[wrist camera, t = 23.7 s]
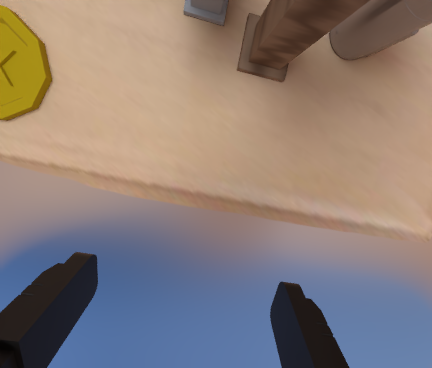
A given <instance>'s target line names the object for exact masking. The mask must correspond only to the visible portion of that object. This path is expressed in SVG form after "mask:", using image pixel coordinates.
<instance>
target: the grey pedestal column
mask: <svg viewBox="0 0 432 368" xmlns="http://www.w3.org/2000/svg"><path fill="white" fill-rule="evenodd" d="M227 4H228V0H185V5H184V14H185V15H188V16H192V17H195V18H198V19H202V20H205V21H208V22H212V23H215V24H219V25H222V26H223V25H224V21H225V15H226V10H227Z"/></svg>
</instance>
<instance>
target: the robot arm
mask: <svg viewBox="0 0 432 368" xmlns="http://www.w3.org/2000/svg"><path fill="white" fill-rule="evenodd" d="M431 23H432V0H370V1H369V2H367V3H366V4H365V5H363V6H362V7H361V8H359V9H358V10H357V11H355V12H354V13H353V14H352V15H350V16H349V17H348V18H346V19H345V20H344V21H342V22H341V23H340V24H338V25H337V26H336V27H335V28H333V29H332V30H331V31H330V40H331V44H332V47H333V49H334V51H335V52H336V53H337V54H338V55H339V56H340V57H342V58H343V59H347V60H354V59H357V58H360V57H362V56H366V57H368V56H370V55H372V54H374V53H377V52H379V51H381V50H383V49H385V48H387V47H389V46H392V45H394V44H396V43H398V42H400V41H402V40H405V39H407V38H409V37H411V36H413V35H415V34H416V33H417V32H418V30H419V29H420V28H422V27H425V26H427V25H429V24H431ZM97 275H98V274H97V257H96V255H94V254H87V253H80V252H76V253H74V254H73V255H72V256H71V257H70V258H69V259H68V260H67V261H66V262H65V263H64V264H60V263H58V264H56V265H54V266H53V267H51V268H49V269H47V270H46V271H44V272H43V273H41V274H40V275H39V276H38V278H36V279H35V280H34V281H33V282H32V284H31V285H29V286H28V287H27V288H26V289H25V290H24V291H23V292H22V293H21V295H18V296H17V297H16V298H15V299H14V300H13V301H12V302H11V303H10V304H9V305H8V306H7V307H6V308H5V309H4V310H2V312H1V313H0V368H47V367H48V365H49V364H50V362H51V361H52V359H53V358H54V356H55V355H56V353H57V352H58V350H59V348H60V347H61V345H62V344H63V342H64V341H65V339H66V338H67V336H68V335H69V333H70V332H71V330H72V329H73V327H74V326H75V324H76V323H77V321H78V319H79V318H80V316H81V315H82V313H83V312H84V310H85V308H86V307H87V306H88V304H89V303H90V301H91V300H92V298H93V296H94V294H95V292H96V289H97V284H98V276H97ZM270 318H271V324H272V329H273V332H274V337H275V341H276V345H277V349H278V353H279V357H280V362H281V366H282V368H349V366H348V364H347V362H346V360H345V358H344V356H343V354H342V352H341V350H340V348H339V346H338V344H337V342H336V340H335V338H334V337H333V334H332V332H331V330H330V328H329V326H328V325H327V322H326V320H325V317H324V315H323V313H322V311H321V310H320V309H319V308H318V306H317V305H316V304H315V303H314V302H313V301H312V300H311V299H308V298H305V295H304V294H303V291H302V289H301V287H300V285H299V284H294V283H287V282H280V283H279V285H278V288H277V291H276V294H275V297H274V300H273V303H272V306H271V312H270Z"/></svg>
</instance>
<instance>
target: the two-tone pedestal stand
mask: <svg viewBox="0 0 432 368" xmlns="http://www.w3.org/2000/svg"><path fill="white" fill-rule="evenodd" d="M369 1H370V0H270V2H269V4H268V5H267V7H266V9H265V10H264V12H263V14H262V15H261V17H260V16H257V15H254V14H251V13H249V15H248V18H247V23H246V28H245V33H244V38H243V43H242V48H241V53H240V58H239V63H238V68H237V70H238V71H242V72H245V73H249V74H253V75H257V76H261V77H264V78H268V79H272V80H276V81H279V82H283V81H284V80H285V76H286V72H287V68H288V64H289V62H290V61H291V60H293V59H294V58H295V57H297V56H298V55H299V54H301V53H302V52H303V51H304V50H306V49H307V48H308V47H310V46H311V45H312V44H314V43H315V42H316V41H318V40H319V39H320V38H321V37H323V36H324V35H325V34H327V33H328V32H329V31H331V30H332V29H333V28H335V27H336V26H337V25H338V24H340V23H341V22H342V21H344V20H345V19H346V18H348V17H349V16H350V15H352V14H353V13H354V12H355V11H357V10H358V9H359V8H361V7H362V6H363V5H365V4H366V3H367V2H369Z"/></svg>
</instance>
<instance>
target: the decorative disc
mask: <svg viewBox="0 0 432 368" xmlns="http://www.w3.org/2000/svg"><path fill="white" fill-rule="evenodd" d="M51 81H52V77H51V72H50V68H49V63H48V58H47V54H46V49H45V45H44V43H43V42H42V41H41V40H40V39H39V38H38V37H37V36H36V35H35V34H34V32H33V31H32V30H31V29H30V28H29V27H28V26H27V25H26V24H25V23H24V22H23V21H22V20H21V19H20V18H19V17H18V15H17V14H16V13H14V12H13V11H12V10H10V9H9V8H7V7H4V6H1V5H0V120H10V119H12V118H15V117H17V116H20V115H22V114H25V113H27V112H30V111H32V110H35V109H37V108H38V107H39V105H40V103H41V101H42V99H43V97H44V95H45V93H46V91H47V89H48V87H49V85H50V83H51Z"/></svg>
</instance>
